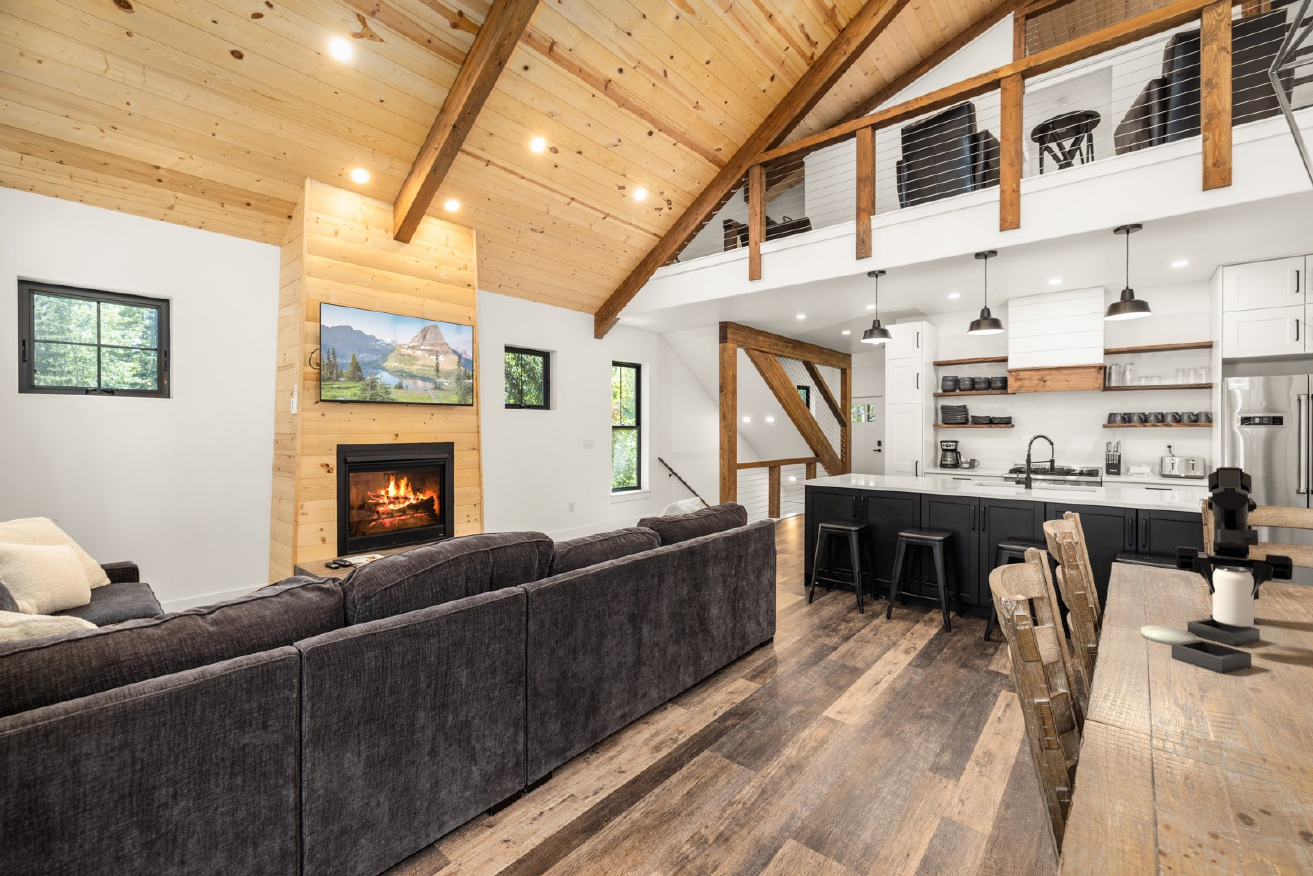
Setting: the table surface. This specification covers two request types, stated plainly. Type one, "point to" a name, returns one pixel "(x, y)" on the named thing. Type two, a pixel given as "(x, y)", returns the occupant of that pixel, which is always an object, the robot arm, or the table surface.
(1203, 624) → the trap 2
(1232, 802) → the table surface
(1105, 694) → the table surface
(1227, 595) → the can
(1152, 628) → the pad
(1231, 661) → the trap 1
